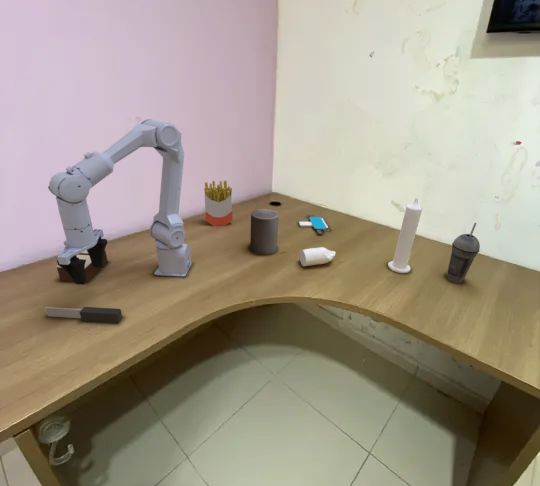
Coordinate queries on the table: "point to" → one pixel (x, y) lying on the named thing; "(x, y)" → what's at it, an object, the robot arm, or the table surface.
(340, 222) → the table surface
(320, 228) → the blue flat paddle
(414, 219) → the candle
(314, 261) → the white bottle
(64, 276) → the cake
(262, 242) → the pillar candle
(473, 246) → the beverage cup
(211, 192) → the french fries container
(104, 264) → the cake slice
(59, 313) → the knife
